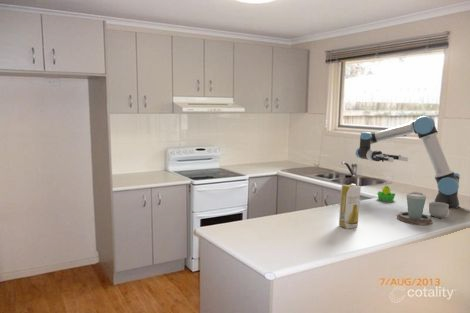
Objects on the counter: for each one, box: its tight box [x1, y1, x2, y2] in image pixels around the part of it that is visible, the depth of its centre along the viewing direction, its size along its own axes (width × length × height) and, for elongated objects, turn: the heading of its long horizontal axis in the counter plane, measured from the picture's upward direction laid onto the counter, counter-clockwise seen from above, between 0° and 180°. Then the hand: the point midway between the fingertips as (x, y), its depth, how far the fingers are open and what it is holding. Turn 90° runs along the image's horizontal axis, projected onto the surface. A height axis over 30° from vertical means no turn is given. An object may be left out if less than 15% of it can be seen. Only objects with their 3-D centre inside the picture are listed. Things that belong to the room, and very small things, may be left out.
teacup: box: [428, 201, 450, 219], centre depth 231 cm, size 14×11×8 cm
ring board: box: [396, 211, 433, 226], centre depth 220 cm, size 19×19×2 cm
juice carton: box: [338, 183, 361, 230], centre depth 202 cm, size 9×8×24 cm
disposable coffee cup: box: [405, 191, 427, 219], centre depth 219 cm, size 11×11×15 cm
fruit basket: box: [376, 185, 396, 203], centre depth 266 cm, size 11×9×11 cm
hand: (400, 159), depth 244 cm, fingers open, 13 cm apart
